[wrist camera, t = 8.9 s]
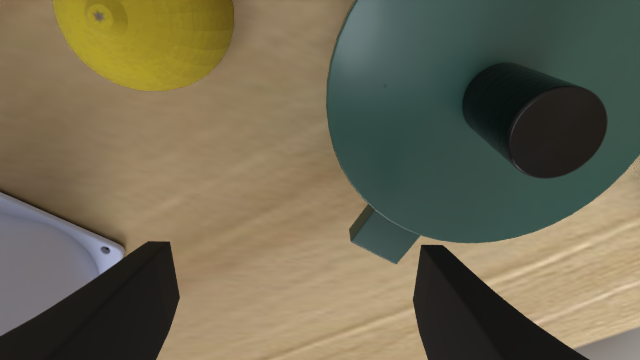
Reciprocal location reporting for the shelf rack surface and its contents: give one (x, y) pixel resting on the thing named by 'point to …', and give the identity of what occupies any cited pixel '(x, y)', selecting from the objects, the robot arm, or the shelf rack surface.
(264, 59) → the shelf rack surface
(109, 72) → the lemon
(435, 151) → the pot lid
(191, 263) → the shelf rack surface
